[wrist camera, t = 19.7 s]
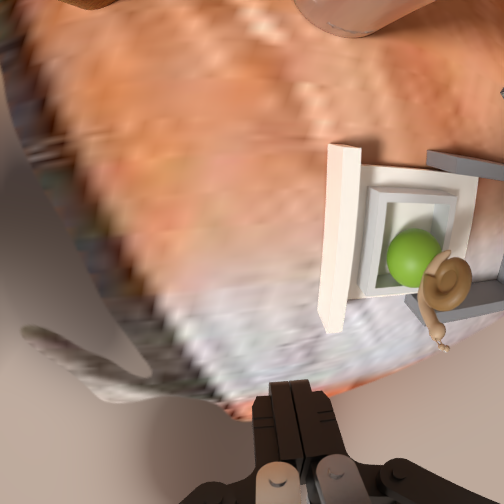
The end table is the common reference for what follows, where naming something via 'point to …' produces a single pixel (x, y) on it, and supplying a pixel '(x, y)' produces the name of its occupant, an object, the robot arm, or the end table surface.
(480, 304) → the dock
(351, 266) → the tray
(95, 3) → the disposable coffee cup
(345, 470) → the robot arm
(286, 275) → the end table surface
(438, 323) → the snail figurine
